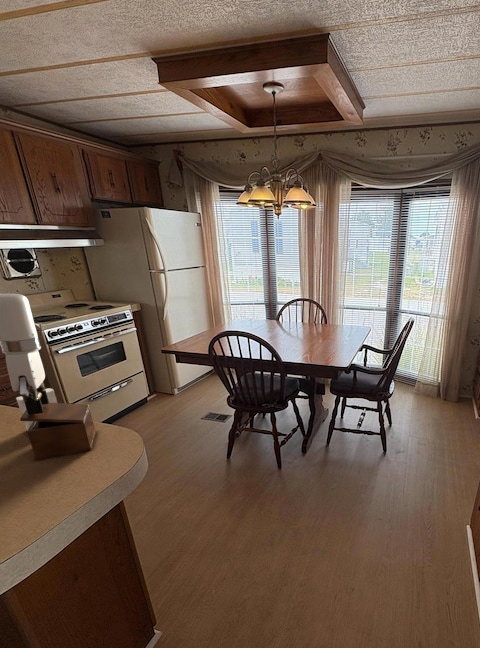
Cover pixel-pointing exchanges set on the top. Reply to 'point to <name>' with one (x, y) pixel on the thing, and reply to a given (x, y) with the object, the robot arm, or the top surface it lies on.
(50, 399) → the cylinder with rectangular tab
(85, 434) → the compartment
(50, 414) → the compartment lid
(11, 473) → the top surface
